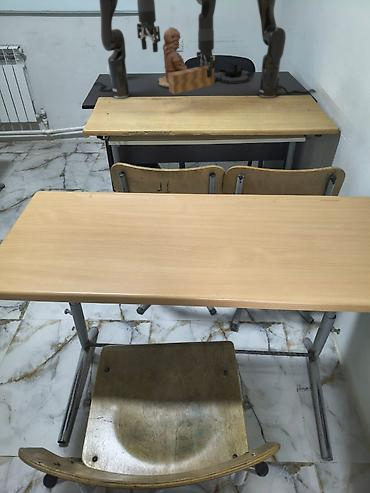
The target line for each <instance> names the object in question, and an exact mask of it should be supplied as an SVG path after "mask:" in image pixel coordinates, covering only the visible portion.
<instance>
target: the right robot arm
mask: <svg viewBox="0 0 370 493" xmlns="http://www.w3.org/2000/svg"><path fill="white" fill-rule="evenodd" d="M276 1H277V0H256V3H257V7H258V14H259V18H260V26H261V36H262V37H261V38H262V41H263V43H264V45H265V46H267V52H266V54H264V55H263V57H262V62H261V63H262V65H261V75H260V85H259V93H258V95H259V97H261V98H267V99H269V98H276V97H278V94H279V91H281V89H282V90H284V91H285V94H292V93H298V94H309V93H310V92H313V93H316V90H315V89H313V88H311V89H309V90H306V91H303V90H296V89H295V90H294V89H293V90H291V91H288V90H287V88H286V87H285V86H283V85H282V84H281V83H280V77H279V74H280V68H281V61H282V57H283V56H284V50H285V45H286V39H287V38H286V37H287V36H286V34H287V33H286V31H285V29H283V27H279V26H277V23H276V18H275V6H276ZM196 2H197V4H199V5H200V6H201V9H200V10H201V11H200V12H199V14H198V25H197V26H198V28H197V29H198V31H197V44H198V45H197V48H198V51H197V52H196V60H197V66H199V67H200V66H205V65H207V77H208V78H210V77H211V76H212V69H214V70H215V68H216V62H217V56H216V55H214V54H213V50H214V48H215V31H214V15H215V11H216V4H217V0H196ZM209 65H210V66H209Z"/></svg>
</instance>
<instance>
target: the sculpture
mask: <svg viewBox="0 0 370 493" xmlns="http://www.w3.org/2000/svg"><path fill="white" fill-rule="evenodd" d="M163 40H164V44H163V45H162V50H163V61H164V71H165V73H164V75H165V76H163V77H159V78H158V79H157V80H158V84H159V86H161V87H163V88H168V89H169V80H168V73H173V72H177V71H182V70H187V69H188V66H187V65H186V64H185V60H184V58H183V57H182V56H183V55H180V53H179V52H178V51H177V50H178V49H179V46H180V40H181V33H180V32H179V30H178V29H177V28H174V27H168V28H167V29H166V30H165V31H164V33H163Z"/></svg>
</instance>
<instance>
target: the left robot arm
mask: <svg viewBox="0 0 370 493" xmlns="http://www.w3.org/2000/svg"><path fill="white" fill-rule="evenodd" d="M98 1H99V12H100V39H101V43H102V47H103V49H104V50H105V51H107V52H112V51H113V52H112V54H111V55H110V56H109V57H108V58H107V64H108V66H109V71H110V75H109V76H110V83H111V88H108V89H107V88H106V84H105V83H103V82H100V81H96V82H94V83H93V85H94V86H96V85H98V84H99V85H101V86H100V87H99V91H102V92H112V97H113V98H114V99H125V98H128V97H130V90H129V89H130V88H129V82H128V81H129V79H128V74H127V66H126V65H127V64H126V58H127V56H126V54H127V53H126V41H125V36H124V33H123V32H122V30H121V29H119V28H114V29H113V18H114V14H115V12H116V9H117V6H118V2H119V0H98ZM137 15H138V22H139V23H136V32H137V39H139V40H140V43H141V49H142V50H143V51H145V50H147V49H148V47H147V46H148V45H147V37H148V38H149V39H150V40H151V42H152V45H151V46H152V52H153V53H158V51H159V46H158V44H159V42H161V30H160V26H159V25H156V26H155V22H156V21H157V18H156V17H157V16H156V3H155V0H137ZM104 88H106V89H104Z"/></svg>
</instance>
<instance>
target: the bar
mask: <svg viewBox="0 0 370 493" xmlns="http://www.w3.org/2000/svg"><path fill="white" fill-rule="evenodd" d="M209 66H210V64H209ZM214 73H215V68H214V69H212V76H211V77H210V78H208V77H207V65H206V64H205V66H200V65H199V66H195V67H192V68H191V67H190V68H187V70H182V71H177V72H173V73H168V80H169V88H168V91H169V93H170V94H173V95H176V94H177V95H178V94H180V93H184V92H189V91H193V90H197V89H201V88H205V87H209V86H213V85H215V82H214Z"/></svg>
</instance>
